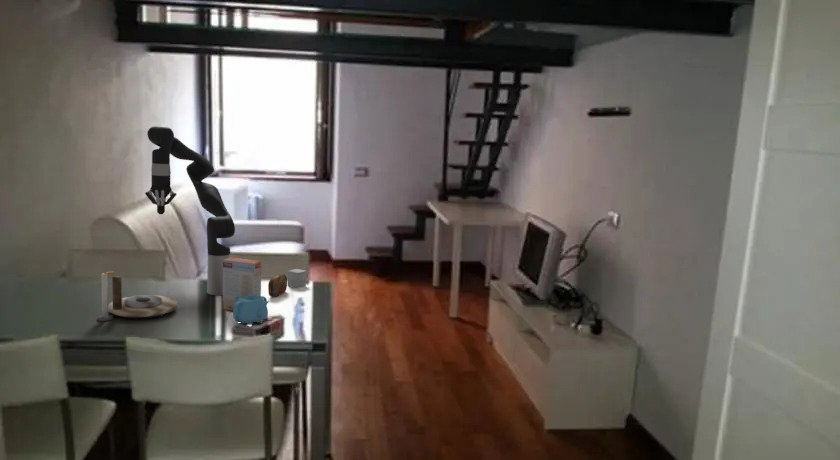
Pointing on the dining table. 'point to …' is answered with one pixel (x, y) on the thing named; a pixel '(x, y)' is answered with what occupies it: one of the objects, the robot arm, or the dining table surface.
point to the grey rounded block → (296, 278)
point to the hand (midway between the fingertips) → (161, 214)
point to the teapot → (250, 308)
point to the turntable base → (142, 317)
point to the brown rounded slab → (277, 286)
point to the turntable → (138, 303)
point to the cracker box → (240, 280)
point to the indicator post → (105, 298)
